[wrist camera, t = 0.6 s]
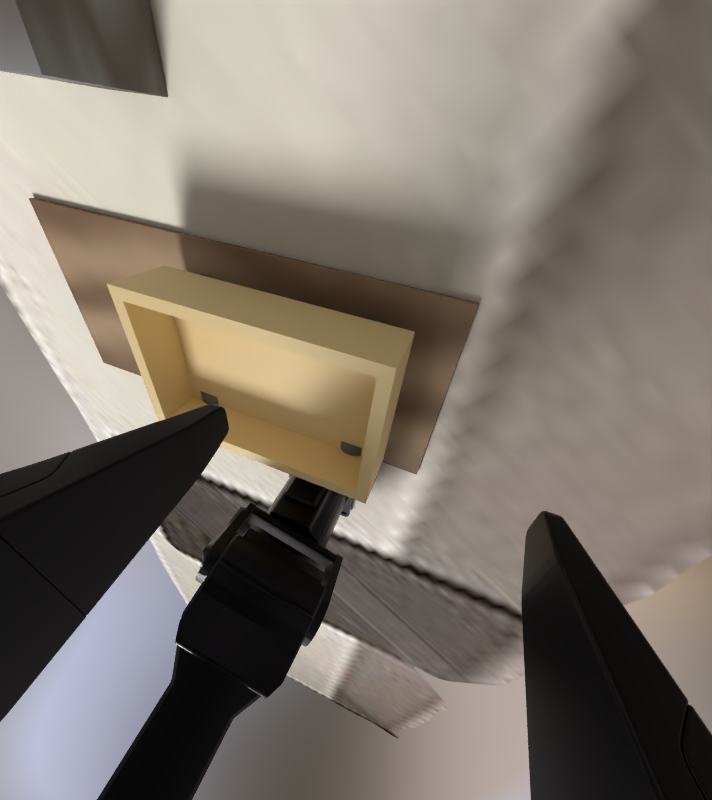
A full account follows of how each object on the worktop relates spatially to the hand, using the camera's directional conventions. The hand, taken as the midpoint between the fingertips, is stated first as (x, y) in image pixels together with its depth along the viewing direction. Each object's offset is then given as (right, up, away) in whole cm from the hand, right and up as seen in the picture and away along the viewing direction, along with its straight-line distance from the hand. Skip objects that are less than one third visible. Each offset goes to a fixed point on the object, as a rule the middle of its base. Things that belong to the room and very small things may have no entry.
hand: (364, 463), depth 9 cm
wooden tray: (-5, +5, +15) cm, 16 cm away
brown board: (-9, +6, +16) cm, 19 cm away
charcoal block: (-11, +19, +7) cm, 24 cm away
